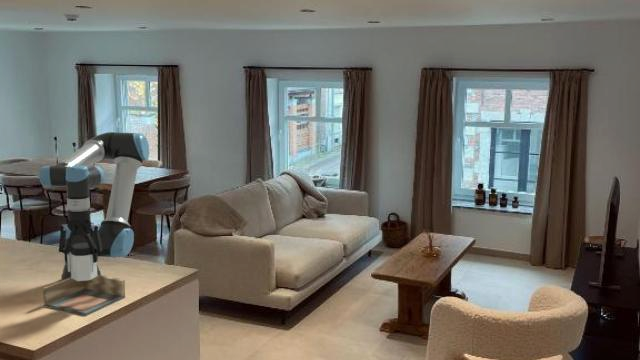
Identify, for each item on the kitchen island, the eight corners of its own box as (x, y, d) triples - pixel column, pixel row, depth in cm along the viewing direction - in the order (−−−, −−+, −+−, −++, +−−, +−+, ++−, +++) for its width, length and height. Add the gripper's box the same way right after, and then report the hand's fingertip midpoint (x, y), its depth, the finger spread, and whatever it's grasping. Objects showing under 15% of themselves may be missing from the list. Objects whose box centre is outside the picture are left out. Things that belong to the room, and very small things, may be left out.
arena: (44, 306, 230) (42, 287, 229) (84, 289, 248) (83, 272, 247) (86, 315, 222) (85, 296, 221) (125, 297, 240) (124, 279, 239)
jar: (81, 272, 235) (79, 241, 233) (101, 274, 233) (99, 243, 231) (66, 280, 227) (64, 248, 224) (87, 282, 225) (85, 250, 223)
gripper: (45, 211, 221) (49, 273, 225) (104, 211, 222) (107, 274, 226) (53, 206, 228) (57, 267, 232) (110, 207, 229) (113, 267, 233)
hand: (81, 270), depth 229 cm, fingers closed on jar, 7 cm apart
